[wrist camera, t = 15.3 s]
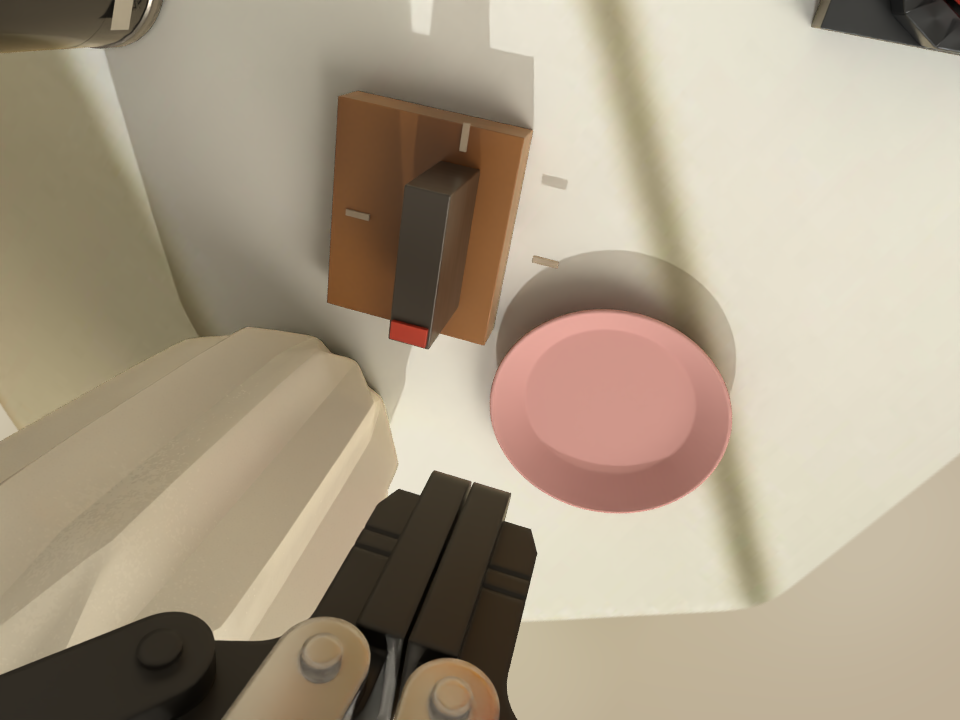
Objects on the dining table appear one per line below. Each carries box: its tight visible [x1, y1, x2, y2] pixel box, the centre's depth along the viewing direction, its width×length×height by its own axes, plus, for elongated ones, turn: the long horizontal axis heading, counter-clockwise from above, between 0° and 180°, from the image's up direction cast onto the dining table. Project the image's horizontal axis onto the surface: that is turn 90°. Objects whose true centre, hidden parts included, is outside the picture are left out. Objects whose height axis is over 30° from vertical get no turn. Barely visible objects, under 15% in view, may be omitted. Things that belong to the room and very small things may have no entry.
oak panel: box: [327, 91, 559, 345], centre depth 37 cm, size 13×12×3 cm
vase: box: [0, 327, 398, 675], centre depth 36 cm, size 20×20×27 cm
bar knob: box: [389, 161, 480, 349], centre depth 34 cm, size 8×2×6 cm, turn 171°
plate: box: [490, 309, 732, 513], centre depth 41 cm, size 14×14×2 cm
